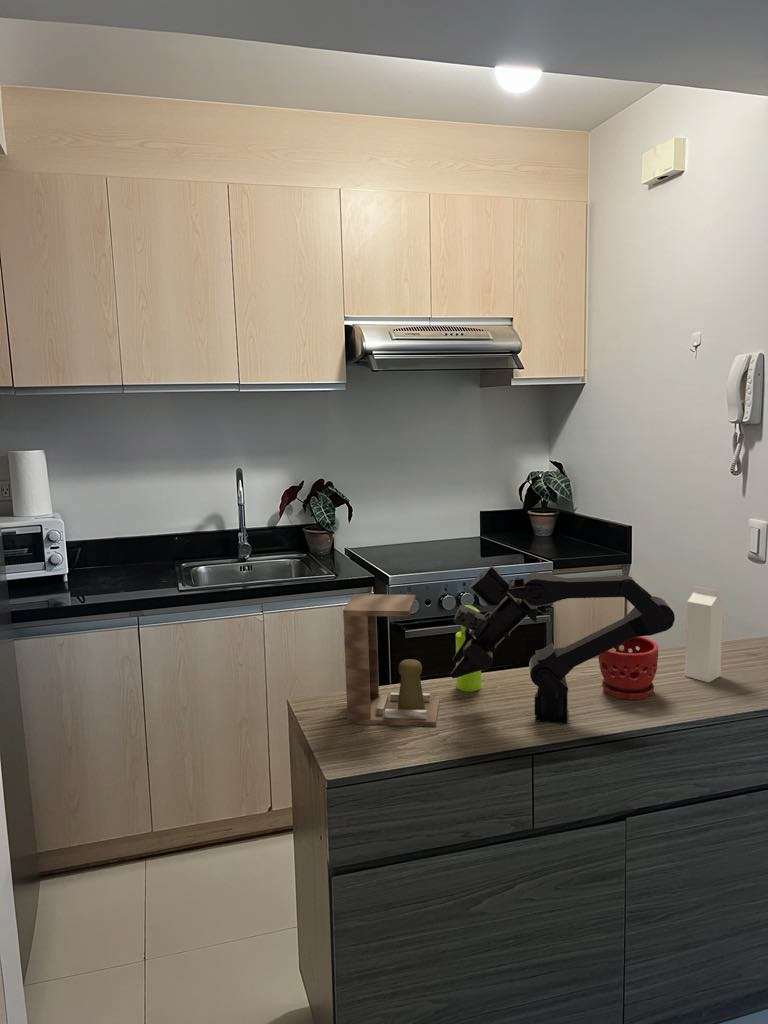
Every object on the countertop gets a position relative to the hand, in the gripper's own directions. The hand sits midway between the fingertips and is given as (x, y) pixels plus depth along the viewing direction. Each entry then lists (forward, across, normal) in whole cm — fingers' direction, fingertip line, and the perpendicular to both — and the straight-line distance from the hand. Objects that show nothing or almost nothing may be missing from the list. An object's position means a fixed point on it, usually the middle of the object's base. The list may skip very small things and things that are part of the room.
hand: (452, 668), depth 165 cm
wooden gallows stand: (+16, 0, -2) cm, 17 cm away
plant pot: (-20, -15, +36) cm, 43 cm away
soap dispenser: (+5, -15, +10) cm, 19 cm away
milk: (-34, -26, +50) cm, 65 cm away
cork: (+13, 0, 0) cm, 13 cm away
